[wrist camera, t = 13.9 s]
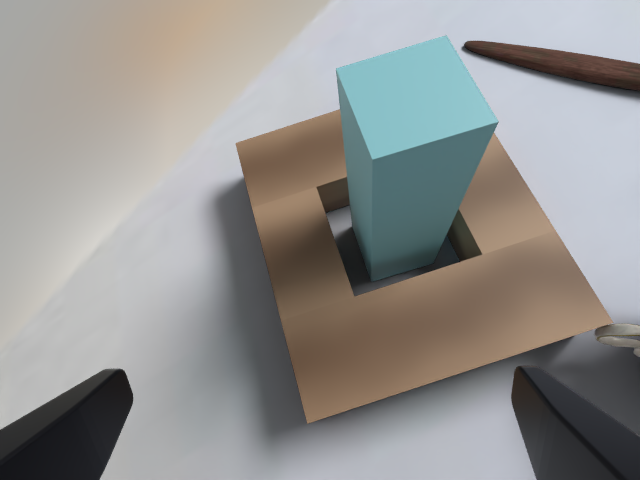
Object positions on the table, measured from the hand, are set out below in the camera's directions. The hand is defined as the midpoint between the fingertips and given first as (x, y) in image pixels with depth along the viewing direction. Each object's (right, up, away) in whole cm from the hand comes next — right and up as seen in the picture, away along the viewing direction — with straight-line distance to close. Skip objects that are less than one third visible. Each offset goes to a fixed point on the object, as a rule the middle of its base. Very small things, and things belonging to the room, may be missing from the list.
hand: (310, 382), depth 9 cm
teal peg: (+5, +3, +16) cm, 17 cm away
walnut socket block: (+5, +3, +16) cm, 17 cm away
